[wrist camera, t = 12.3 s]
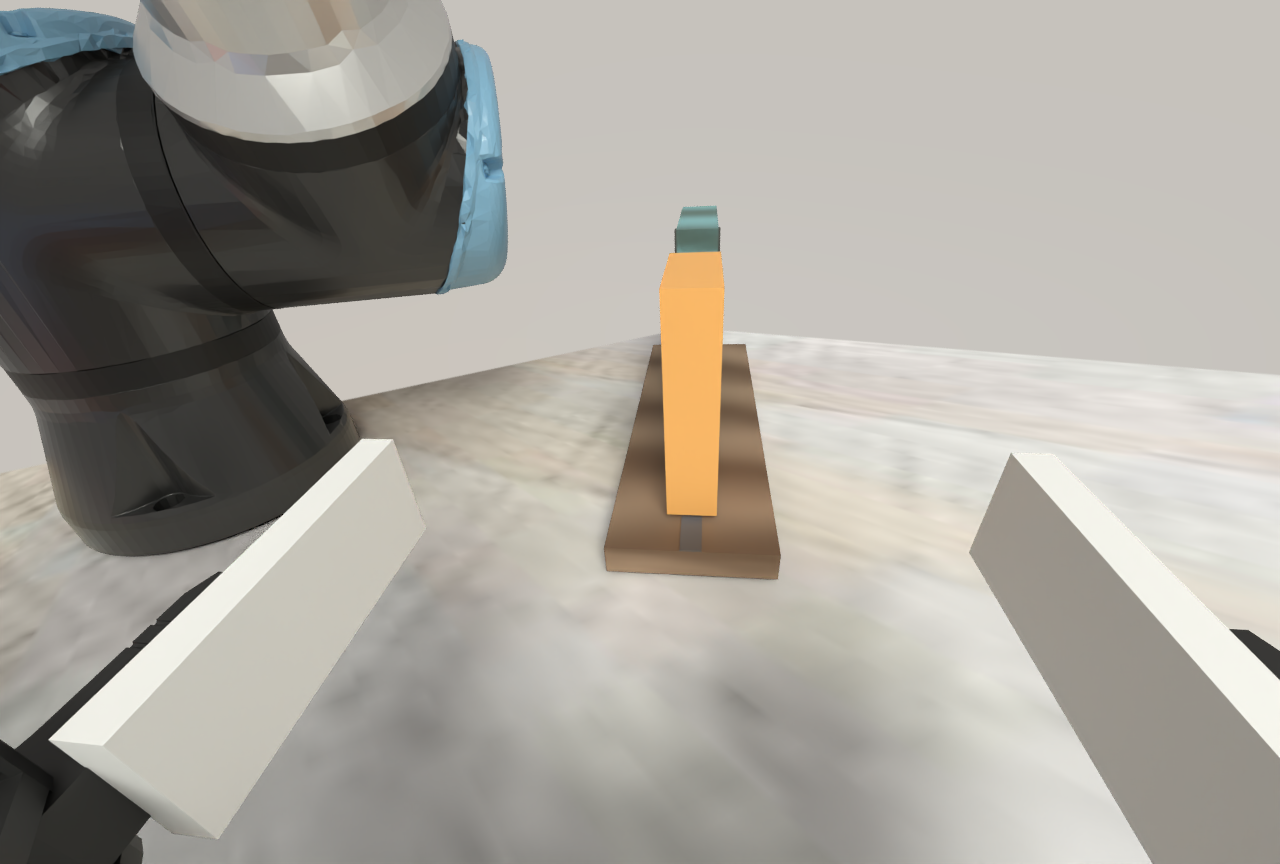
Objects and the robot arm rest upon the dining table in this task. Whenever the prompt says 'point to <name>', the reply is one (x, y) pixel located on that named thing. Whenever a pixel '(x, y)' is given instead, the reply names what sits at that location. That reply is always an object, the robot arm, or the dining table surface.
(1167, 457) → the dining table surface
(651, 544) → the ticket stand
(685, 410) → the stub
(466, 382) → the dining table surface
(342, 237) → the robot arm
